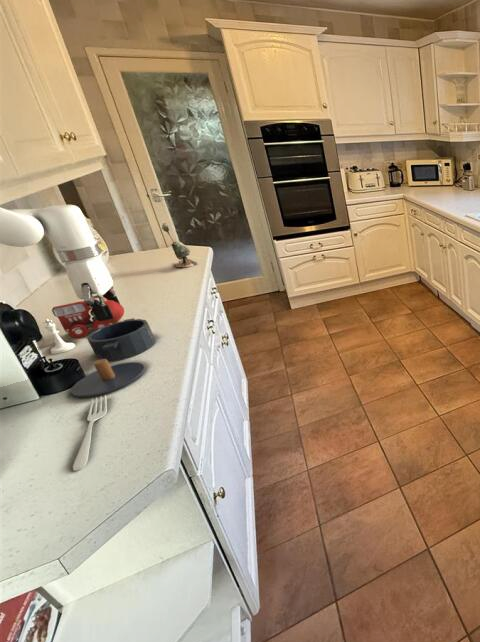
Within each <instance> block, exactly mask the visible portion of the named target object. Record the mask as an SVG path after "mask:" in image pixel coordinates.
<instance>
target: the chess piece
mask: <svg viewBox="0 0 480 642" xmlns="http://www.w3.org/2000/svg"><path fill="white" fill-rule="evenodd" d="M52 322H53V320H52V319H51V320H49V319H48V318H45V319H44V321H42V324H46V325H44V328H45V329H46V330H48V331H49V332H48V335H49V336H52V338H53V340H54V344H55V345H54V346H53V347H52V348H51V349H50V354H52V355H56V354H58V355H59V354H62V353H65V352H68V351H71V350H73V349H74V348H75V347H76V344H75V343H74V342H66V341H64V340H63V339H62V338H61V336H60V335H59V333H60V330H57V329H56V324H55V323H52Z"/></svg>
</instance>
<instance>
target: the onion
mask: <svg viewBox="0 0 480 642" xmlns="http://www.w3.org/2000/svg"><path fill="white" fill-rule="evenodd" d="M104 301H105V304H106V305H108V306H109V308H110V310H111V312H112V314H113V316H114V318H113V319H109V320H103V322H107V323H110V324H116V323H118V322H120V320H121V319H122V318H123V316H124V314H125V308H124V306H123V305H122V304H121V303H120V304H119V303H117V302H115V301H112V300H107V299H106V298H104Z"/></svg>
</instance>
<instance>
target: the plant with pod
mask: <svg viewBox="0 0 480 642" xmlns="http://www.w3.org/2000/svg"><path fill="white" fill-rule="evenodd" d="M161 230H162V231H164V232H166V233H167V234H168V236H169V238H170V239H171V241H172V243H171V247H172V251H173V252H174V255H175V257H176V258H177V259H178V261H177V263H175V264H174V266H175V267H176V268H191V267H193V266H196V265H198V262H197V261H195V260H191V259H190V258H189V257H188V256H190V254H191V250H190V248H189V247H188V245H186V244H184V243H183V242H181V241H177V240H176V241H174V239H173V238H172V236H171V235H170V229H169V226H168V224H167V223H166V222H163V223H162V226H161Z"/></svg>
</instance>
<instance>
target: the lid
mask: <svg viewBox="0 0 480 642" xmlns="http://www.w3.org/2000/svg"><path fill="white" fill-rule="evenodd" d="M93 365H94V367H95V369H96V371H94V372H92V373H90V374H88V375H86V376H84V377H83V378H81V379H80V380H78V381H76V383H74V385H73V386H72V387H71V389H70V393H71V394H72V395H73V396H75V397H79V398H88V397H95V396H100V395H105V394H107V393H110V392H112V391H115V390H118V389H120V388H123V387H125V386H127V385H129V384H130V383H132V382H134V381H136V380H137V379H138V378H140V377H141V376H142V375H143V374H144V372H145V370H146V367H145V365H144V364H143V363H140V362H134V361H133V362H132V361H131V362H124V363H118V364H114V365H111V364H110V362H108V361H107V359H101V360H98V359H97V360H96V361H94V362H93Z"/></svg>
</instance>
